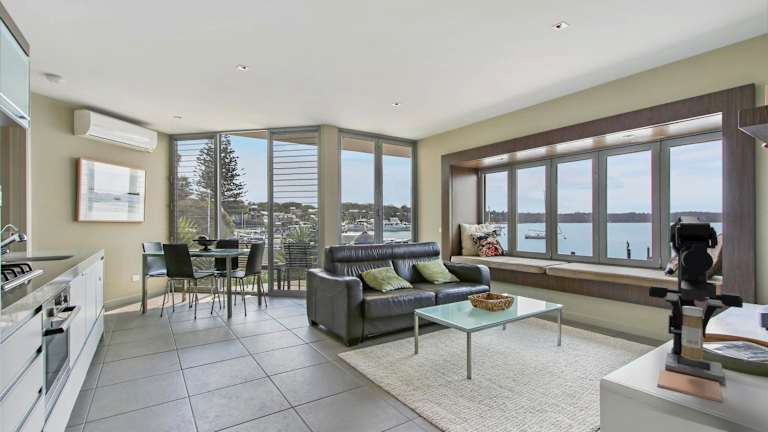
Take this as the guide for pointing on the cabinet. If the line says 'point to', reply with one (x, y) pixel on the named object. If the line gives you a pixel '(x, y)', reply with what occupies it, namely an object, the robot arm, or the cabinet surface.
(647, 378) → the cabinet surface
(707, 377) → the collar stand
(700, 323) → the sprinkles bottle
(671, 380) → the terracotta tile
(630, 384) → the cabinet surface
